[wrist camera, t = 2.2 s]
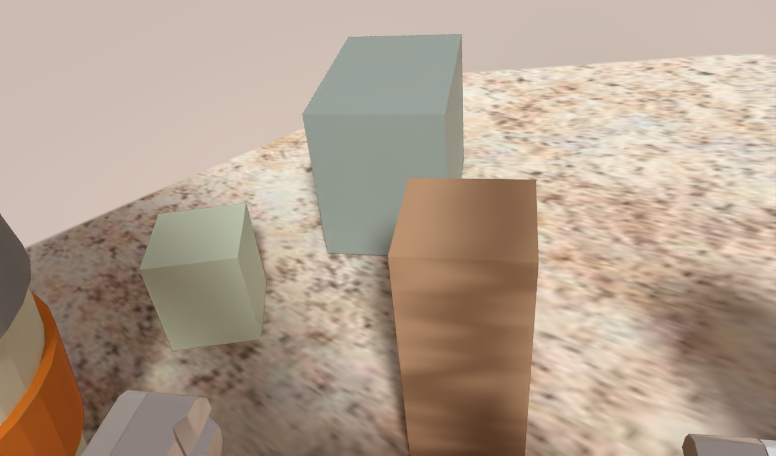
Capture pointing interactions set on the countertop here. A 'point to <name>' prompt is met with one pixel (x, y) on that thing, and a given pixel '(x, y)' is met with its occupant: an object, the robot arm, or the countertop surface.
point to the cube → (206, 276)
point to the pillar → (465, 313)
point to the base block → (383, 133)
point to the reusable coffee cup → (33, 367)
